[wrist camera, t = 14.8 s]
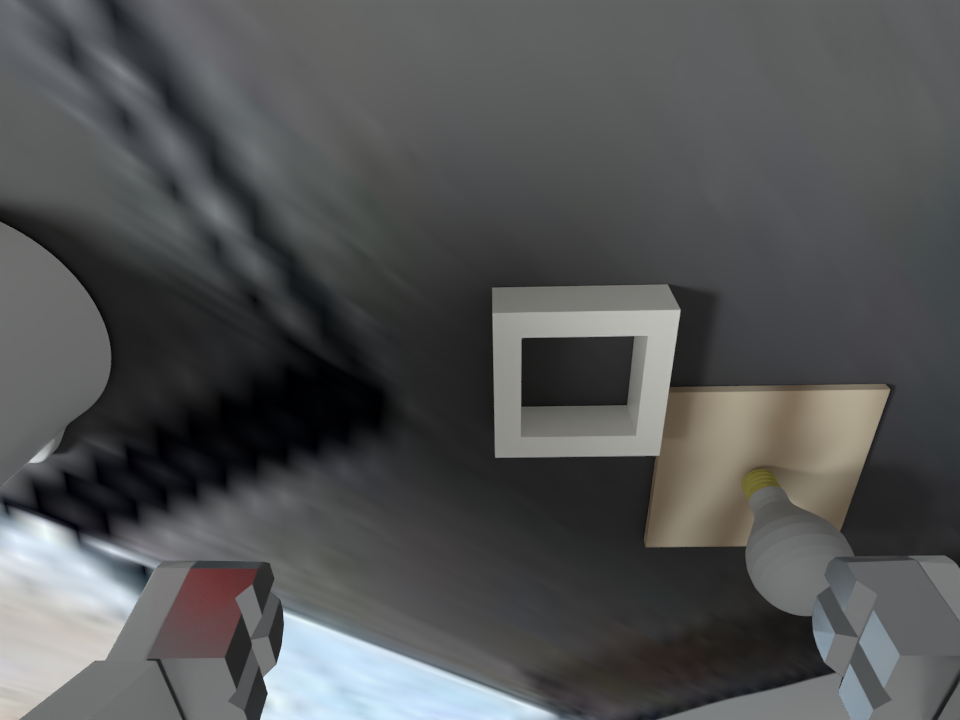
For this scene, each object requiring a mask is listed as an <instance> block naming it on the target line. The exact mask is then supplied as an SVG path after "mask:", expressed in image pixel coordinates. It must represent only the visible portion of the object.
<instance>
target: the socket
mask: <svg viewBox="0 0 960 720" xmlns="http://www.w3.org/2000/svg"><path fill="white" fill-rule="evenodd" d="M680 311H681V309H680V308H679V306H678V304H677V302H676V300H675V298H674V296H673V294H672V292H671V290H670V288H669V286H668V284H660V285H605V286H551V287H497V288H492V317H493V371H494V425H495V458H516V457H597V456H659V455H660V448H661V441H662V434H663V427H664V420H665V414H666V407H667V400H668V393H669V386H670V379H671V373H672V366H673V359H674V352H675V345H676V338H677V331H678V325H679V318H680ZM608 336H634V345H633V354H632V364H631V373H630V382H629V391H628V401H627V405H608V406H537V407H521V338H547V337H608Z"/></svg>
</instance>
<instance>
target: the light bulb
mask: <svg viewBox="0 0 960 720" xmlns="http://www.w3.org/2000/svg"><path fill="white" fill-rule="evenodd" d="M741 486H742V489H743V491H744V492H745V494H746V496H747V498H748V501H749V507H750V509H751V511H752V513H753V515H754V522H753V526H752V529H751V532H750V535H749V538H748V542H747V546H746V552H745V557H746V565H747V571H748V573H749V576H750V578H751V580H752V582H753V584H754V586H755V588H756V589H757V591H758V592H759V593H760V594H761V595H762V596H763V597H764V598H765V599H766V600H767V601H768V602H770V603H771V604H772V605H774V606H775V607H777V608H778V609H780V610H783V611H785V612H788V613H791V614H794V615H800V616H812V610H813V607H814V603H815V600H816V596H817V595H818V594H820V593H821V592H822V591H824V590H825V589H827V588H828V587H829V586H830V585H829V583H828V581H827V579H826V578H825V576H824V574H825V571H826V568H827V566H828V563H829V562H830V561H831V560H832V559H834V558H835V557H851V556H854V553H853V551H852V549H851V547H850V545H849V544H848V542H847V540H846V538H845V537H844V535H843V534H842V533H841V532H840V531H839V530H838V529H837V528H836V527H835V526H834V525H833V524H832V523H830V522H829V521H827V520H825V519H824V518H822V517H820V516H818V515H816V514H814V513H812V512H809V511H807V510H804V509H802V508H800V507H798V506H796V505H794V504H793V503H792V502H791V501H790V500H789V498H788V496H787V494H786V492H785V491H784V490H783V489H782V488H781V487H780V485H779V483H778V481H777V480H776V478H775V476H774V474H773V473H772V472H770V471H769V470H767V469H756V470H753V471H751V472H749V473H747V474H746V475H745V476H744V478H743V480H742V484H741Z"/></svg>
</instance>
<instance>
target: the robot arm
mask: <svg viewBox="0 0 960 720" xmlns="http://www.w3.org/2000/svg"><path fill="white" fill-rule="evenodd" d="M110 369H111V348H110V342H109V337H108V333H107V330H106V327H105V324H104V322H103V319H102V317H101V315H100V313H99V311H98V309H97V307H96V305H95V304H94V302H93V300H92V299H91V297H90V296H89V294H88V293H87V291H86V290H85V289H84V287H83V286H82V285H81V283H80V282H79V281H78V280H77V279H76V277H75V276H74V275H73V274H72V273H71V272H70V271H69V270H68V269H67V268H66V267H65V266H64V265H63V264H62V263H61V262H60V261H59V260H58V259H57V258H55V257H54V256H53V255H52V254H51V253H50V252H48V251H47V250H46V249H44V248H43V247H42V246H41V245H39V244H38V243H36V242H35V241H33V240H32V239H30V238H29V237H27V236H26V235H24V234H22V233H21V232H19V231H17V230H15V229H14V228H12V227H10V226H8V225H6V224H4V223H2V222H0V488H1V487H2V486H3V485H4V484H5V483H6V482H7V481H8V480H9V479H10V478H12V477H13V476H14V475H15V474H16V473H17V472H18V471H19V470H20V469H21V468H23V467H24V466H25V465H26V464H27V463H28V462H29V463H38V462H42V461H44V460H45V459H46V458H48V457H49V456H50V455H51V454H52V453H53V452H54V451H55V450H56V449H57V448H58V446H59V444H60V442H61V440H62V437H63V434H64V431H65V428H66V426H67V425H68V424H69V423H70V422H72V421H73V420H74V419H76V418H77V417H78V416H80V415H81V414H82V413H84V412H85V411H86V410H88V409H89V408H90V407H91V406H92V405H93V404H94V403H95V402H96V401H97V400H98V398H99V397H100V396H101V394H102V392H103V391H104V389H105V386H106V384H107V381H108V378H109V374H110ZM824 576H825V578H826V579H827V581H828V583H829V585H830V586H829V587H828V588H827V589H825V590H824V591H822V592H821V593H820V594H818V595H817V596H816V600H815V603H814V607H813V610H812V622H813V633H814V636H815V640H816V644H817V647H818V649H819V651H820V654H821V656H822V658H823V660H824V663H826V664H827V665H828V666H829V667H831V668H832V669H833V670H834V671H835V672H837V673H838V674H839V675H841V676H842V680H841V684H840V687H839V691H838V693H839V695H840V697H841V699H842V701H843V704H844V706H845V708H846V710H847V712H848V714H849V716H850V719H851V720H960V568H959V567H958V566H957V564H956V563H955V562H954V561H953V560H951V559H950V558H948V557H947V556H906V557H905V556H851V557H835V558H834V559H832V560H831V561H830V562H829V563H828V566H827V568H826V571H825V574H824ZM273 581H274V576H273V573H272V570H271V567H270V563H266V562H239V561H163V562H162V563H161V564H160V565H159V566H158V567H157V568H156V569H155V570H154V571H153V573H152V575H151V577H150V579H149V581H148V583H147V584H146V586H145V588H144V590H143V592H142V594H141V596H140V597H139V599H138V601H137V603H136V605H135V607H134V609H133V610H132V612H131V614H130V616H129V618H128V620H127V622H126V623H125V625H124V627H123V629H122V631H121V633H120V635H119V636H118V638H117V640H116V642H115V644H114V646H113V648H112V649H111V651H110V653H109V655H108V657H107V659H106V661H94V662H93V663H91V664H90V665H89V666H88V667H86V668H85V669H84V670H82V671H81V672H80V673H79V674H77V675H76V676H75V677H73V678H72V679H71V680H70V681H68V682H67V683H66V684H64V685H63V686H62V687H61V688H59V689H58V690H57V691H55V692H54V693H53V694H52V695H50V696H49V697H48V698H46V699H45V700H44V701H43V702H41V703H40V704H39V705H37V706H36V707H35V708H34V709H32V710H31V711H30V712H28V713H27V714H26V715H25V716H23V717H22V718H21V719H19V720H260V717H261V714H262V710H263V707H264V704H265V701H266V697H267V694H268V693H267V690H266V686H265V683H264V680H263V677H264V676H265V675H266V674H267V673H268V672H269V671H270V670H271V669H272V668H273V667H274V666H275V665H276V663H277V660H278V656H279V653H280V649H281V645H282V636H283V628H284V621H283V609H282V605H281V601H280V599H279V598H278V597H277V596H276V595H274V594H273V593H272V592H270V590H271V587H272V584H273Z"/></svg>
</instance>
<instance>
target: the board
mask: <svg viewBox="0 0 960 720" xmlns="http://www.w3.org/2000/svg"><path fill="white" fill-rule="evenodd" d="M889 392H890V388H889V387H888V386H887V385H886V384H838V385H771V386H703V387H669V393H668V400H667V407H666V414H665V420H664V427H663V434H662V441H661V448H660V455H659V456H656V459H655V466H654V473H653V480H652V487H651V494H650V501H649V508H648V515H647V522H646V529H645V536H644V543H645V547H725V546H747V542H748V538H749V535H750V532H751V529H752V526H753V522H754V515H753V513H752V511H751V509H750V507H749V501H748V498H747V496H746V494H745V492H744V491H743V489H742V486H741V484H742V480H743V478H744V476H745V475H746V474H747V473H749V472H751V471H753V470H756V469H767V470H769V471H770V472H772V473H773V474H774V476H775V478H776V480H777V481H778V483H779V485H780V487H781V488H782V489H783V490H784V491H785V492H786V494H787V496H788V498H789V500H790V501H791V502H792V503H793V504H794V505H796V506H798V507H800V508H802V509H804V510H807V511H809V512H812V513H814V514H816V515H818V516H820V517H822V518H824V519H825V520H827V521H829V522H830V523H832V524H833V525H834V526H835V527H836V528H837V529H838V530H839V531H841V528H842V525H843V522H844V519H845V516H846V514H847V511H848V508H849V505H850V502H851V499H852V497H853V494H854V491H855V488H856V485H857V483H858V480H859V477H860V474H861V471H862V468H863V466H864V463H865V460H866V457H867V454H868V451H869V449H870V446H871V443H872V440H873V437H874V434H875V432H876V429H877V426H878V423H879V420H880V417H881V415H882V412H883V409H884V406H885V403H886V401H887V398H888V395H889Z"/></svg>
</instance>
